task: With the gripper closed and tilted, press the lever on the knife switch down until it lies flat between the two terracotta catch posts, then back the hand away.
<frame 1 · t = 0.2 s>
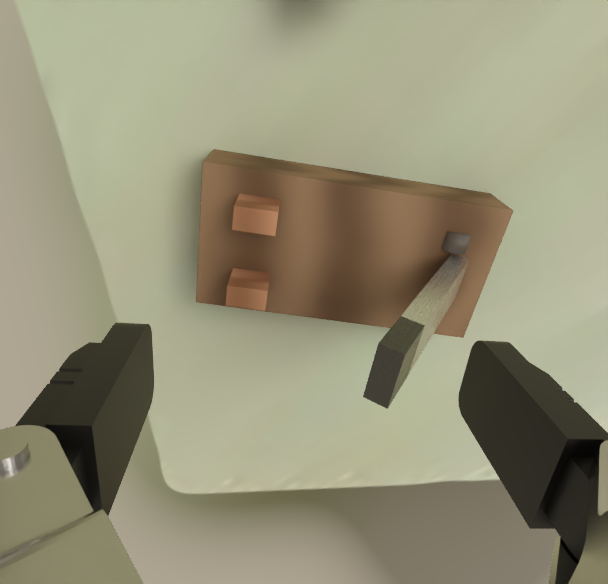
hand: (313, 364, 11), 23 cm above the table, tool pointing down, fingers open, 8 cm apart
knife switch: (341, 237, 34), on the table
lever: (426, 314, 25), point 10 cm above the table, hinge at 60.0°
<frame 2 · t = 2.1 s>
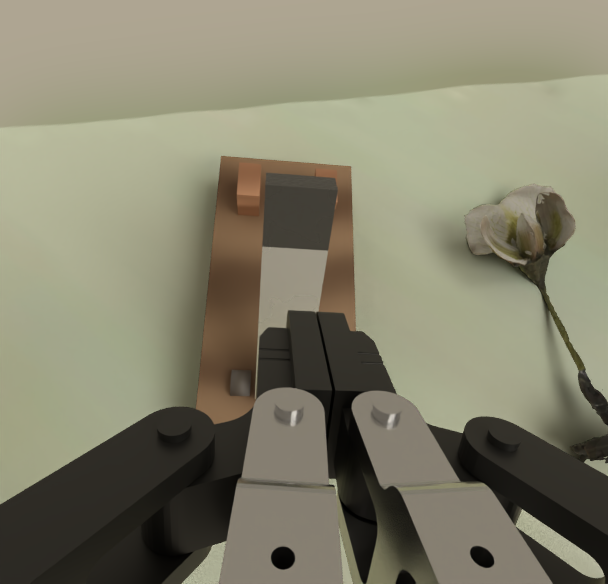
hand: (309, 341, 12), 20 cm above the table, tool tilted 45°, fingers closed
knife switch: (279, 301, 34), on the table
artificial flower: (526, 321, 36), on the table
lever: (288, 306, 23), point 10 cm above the table, hinge at 60.0°
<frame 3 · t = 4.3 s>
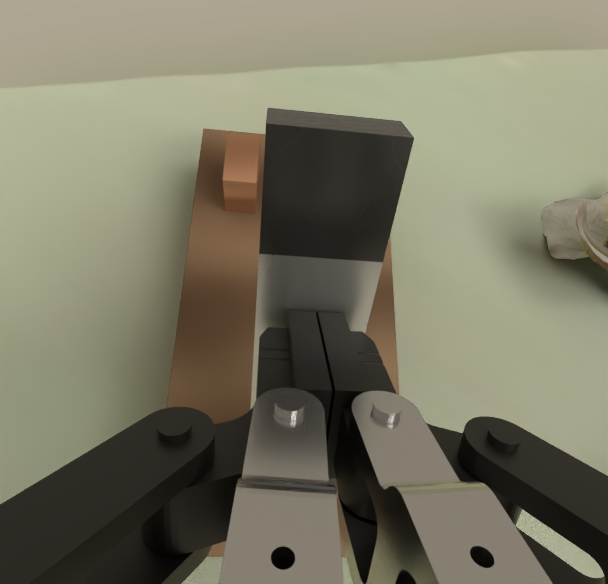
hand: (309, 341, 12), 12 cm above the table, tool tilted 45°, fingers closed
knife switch: (283, 333, 24), on the table
lever: (303, 359, 13), point 10 cm above the table, hinge at 57.5°, touching gripper
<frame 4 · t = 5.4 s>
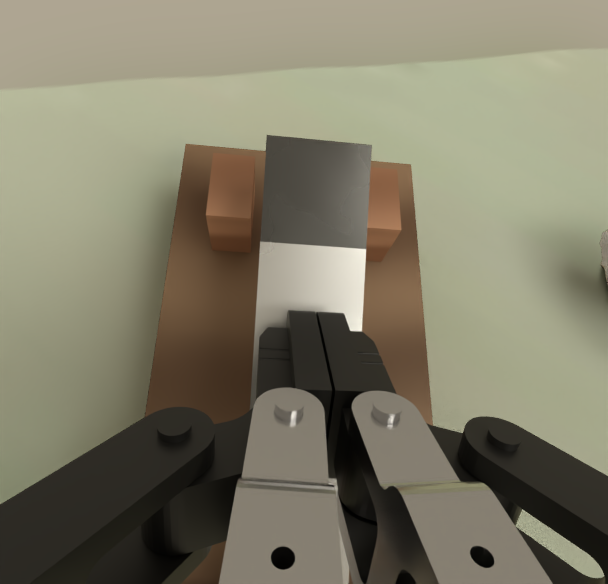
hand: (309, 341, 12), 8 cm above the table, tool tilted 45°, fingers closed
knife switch: (286, 397, 19), on the table
lever: (303, 384, 13), point 7 cm above the table, hinge at 19.8°, touching gripper, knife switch
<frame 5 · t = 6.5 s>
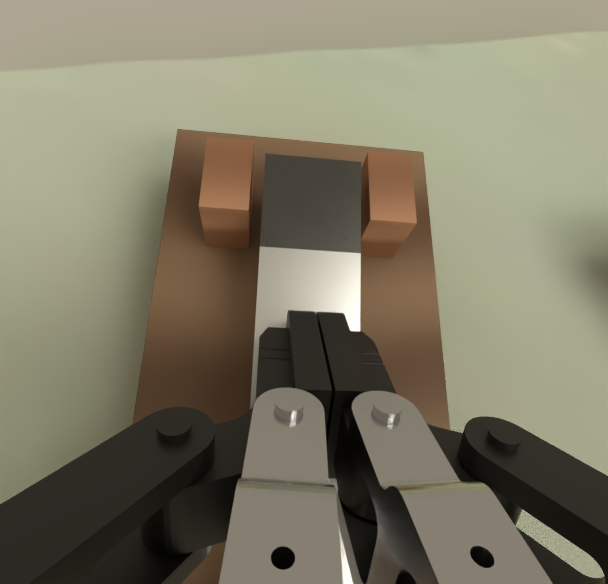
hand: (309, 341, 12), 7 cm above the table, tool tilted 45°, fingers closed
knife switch: (288, 405, 18), on the table
lever: (303, 388, 13), point 6 cm above the table, hinge at 8.3°, touching gripper
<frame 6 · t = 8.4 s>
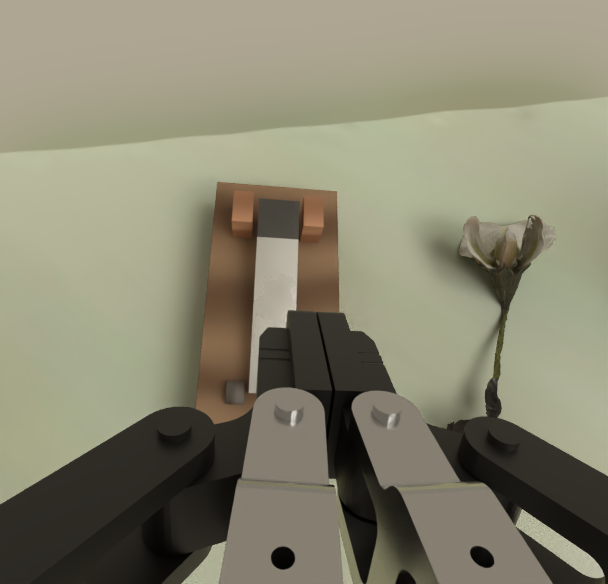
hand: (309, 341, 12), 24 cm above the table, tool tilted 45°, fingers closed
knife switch: (271, 315, 37), on the table
artificial flower: (476, 328, 39), on the table
lever: (275, 293, 32), point 6 cm above the table, hinge at 8.3°
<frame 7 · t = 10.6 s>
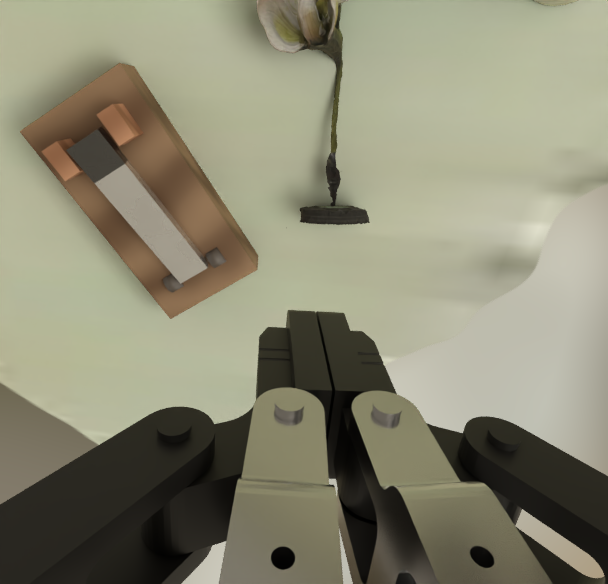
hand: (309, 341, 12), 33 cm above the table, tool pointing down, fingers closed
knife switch: (158, 196, 42), on the table
artificial flower: (315, 96, 40), on the table
lever: (144, 211, 37), point 6 cm above the table, hinge at 8.3°
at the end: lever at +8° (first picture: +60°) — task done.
